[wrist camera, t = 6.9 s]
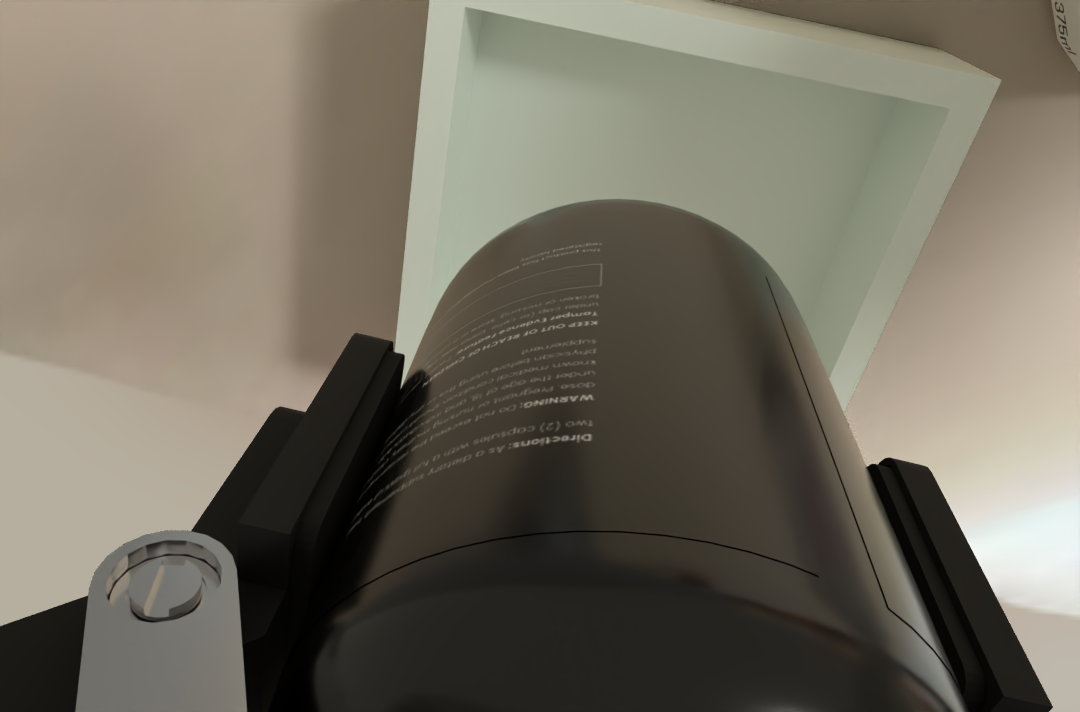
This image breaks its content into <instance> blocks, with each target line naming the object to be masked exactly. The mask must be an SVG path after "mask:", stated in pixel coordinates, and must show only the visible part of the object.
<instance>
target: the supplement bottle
mask: <svg viewBox="0 0 1080 712" xmlns="http://www.w3.org/2000/svg"><path fill="white" fill-rule="evenodd" d="M268 712H969V711H968V708H967V705H966V703H965V700H964V697H963V694H962V691H961V689H960V687H959V684H958V682H957V679H956V677H955V674H954V672H953V670H952V667H951V665H950V663H949V660H948V658H947V655H946V653H945V651H944V648H943V646H942V644H941V641H940V639H939V637H938V634H937V632H936V629H935V627H934V625H933V622H932V620H931V618H930V615H929V613H928V610H927V608H926V606H925V603H924V601H923V599H922V596H921V594H920V592H919V589H918V587H917V585H916V582H915V580H914V577H913V575H912V573H911V570H910V568H909V566H908V563H907V561H906V559H905V556H904V554H903V552H902V549H901V547H900V544H899V542H898V540H897V537H896V535H895V533H894V530H893V528H892V526H891V523H890V521H889V519H888V516H887V514H886V511H885V509H884V507H883V504H882V502H881V500H880V497H879V495H878V493H877V490H876V488H875V486H874V483H873V481H872V478H871V476H870V474H869V471H868V469H867V467H866V464H865V462H864V460H863V457H862V455H861V452H860V450H859V448H858V445H857V443H856V441H855V438H854V436H853V434H852V431H851V429H850V427H849V424H848V422H847V419H846V417H845V415H844V412H843V410H842V408H841V405H840V403H839V401H838V398H837V396H836V394H835V391H834V389H833V386H832V384H831V382H830V379H829V377H828V375H827V372H826V370H825V368H824V365H823V363H822V361H821V358H820V356H819V353H818V351H817V349H816V346H815V344H814V342H813V339H812V337H811V335H810V333H809V331H808V329H807V327H806V325H805V322H804V320H803V318H802V316H801V314H800V311H799V309H798V307H797V306H796V304H795V302H794V300H793V298H792V296H791V294H790V292H789V291H788V289H787V288H786V286H785V285H784V283H783V282H782V280H781V279H780V277H779V276H778V274H777V273H776V272H775V271H774V270H773V268H772V267H771V266H770V265H769V264H768V263H767V261H766V260H765V259H764V258H763V257H762V256H761V255H760V254H759V253H757V252H756V251H755V250H754V249H753V248H752V247H751V246H750V245H748V244H747V243H746V242H745V241H743V240H742V239H741V238H739V237H738V236H737V235H735V234H733V233H732V232H730V231H729V230H727V229H725V228H724V227H722V226H720V225H719V224H717V223H714V222H712V221H710V220H708V219H706V218H704V217H702V216H700V215H697V214H694V213H692V212H689V211H686V210H683V209H681V208H677V207H673V206H669V205H665V204H661V203H655V202H649V201H642V200H630V199H600V200H591V201H584V202H577V203H572V204H568V205H564V206H559V207H556V208H553V209H550V210H547V211H544V212H541V213H538V214H536V215H534V216H531V217H529V218H527V219H525V220H522V221H520V222H518V223H517V224H515V225H513V226H511V227H510V228H508V229H506V230H504V231H503V232H501V233H500V234H498V235H497V236H496V237H494V238H493V239H491V240H490V241H488V242H487V243H486V244H485V245H484V246H482V247H481V248H480V249H479V250H478V251H477V252H476V253H475V254H473V255H472V256H471V258H470V259H469V260H468V261H467V262H466V263H465V264H464V265H463V266H462V267H461V269H460V270H459V271H458V273H457V274H456V275H455V277H454V278H453V279H452V281H451V282H450V284H449V285H448V287H447V289H446V290H445V292H444V294H443V296H442V297H441V299H440V301H439V302H438V305H437V307H436V309H435V311H434V313H433V316H432V318H431V320H430V323H429V324H428V326H427V328H426V331H425V333H424V335H423V338H422V340H421V342H420V345H419V347H418V349H417V352H416V354H415V356H414V359H413V361H412V363H411V366H410V368H409V371H408V373H407V375H406V378H405V380H404V382H403V385H402V387H401V390H400V392H399V395H398V397H397V399H396V402H395V404H394V406H393V409H392V411H391V413H390V416H389V418H388V421H387V423H386V425H385V428H384V430H383V432H382V435H381V437H380V440H379V442H378V444H377V447H376V449H375V451H374V454H373V456H372V458H371V461H370V463H369V466H368V468H367V470H366V473H365V475H364V477H363V480H362V482H361V485H360V487H359V489H358V492H357V494H356V496H355V499H354V501H353V504H352V506H351V508H350V511H349V513H348V515H347V518H346V520H345V522H344V525H343V527H342V530H341V532H340V534H339V537H338V539H337V541H336V544H335V546H334V549H333V551H332V553H331V556H330V558H329V560H328V563H327V565H326V568H325V570H324V572H323V575H322V577H321V579H320V582H319V584H318V587H317V589H316V591H315V594H314V596H313V598H312V601H311V603H310V606H309V608H308V610H307V613H306V615H305V617H304V620H303V622H302V625H301V627H300V629H299V632H298V634H297V637H296V639H295V641H294V644H293V646H292V648H291V651H290V653H289V656H288V658H287V660H286V663H285V665H284V668H283V670H282V673H281V675H280V678H279V681H278V685H277V688H276V690H275V693H274V695H273V698H272V701H271V704H270V707H269V710H268Z"/></svg>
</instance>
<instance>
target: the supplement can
mask: <svg viewBox="0 0 1080 712" xmlns="http://www.w3.org/2000/svg"><path fill="white" fill-rule="evenodd" d="M1051 3H1052V9H1053V16H1054V22H1055V28H1056V34H1057V40H1058V41H1059V43H1060V44H1061V46H1062V47H1063V49H1064V50H1065V52H1066V53H1067V55H1068V56H1069V57H1070V59H1071V60H1072V62H1073V63H1074V65H1075V66H1076V68H1077V69H1078V71H1079V72H1080V0H1051Z"/></svg>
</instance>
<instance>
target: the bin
mask: <svg viewBox="0 0 1080 712" xmlns="http://www.w3.org/2000/svg"><path fill="white" fill-rule="evenodd" d="M1001 81H1002V80H1001V79H999V78H997V77H995V76H993V75H991V74H989V73H987V72H985V71H983V70H981V69H979V68H977V67H975V66H973V65H971V64H969V63H967V62H965V61H963V60H961V59H959V58H957V57H955V56H953V55H951V54H949V53H947V52H945V51H943V50H941V49H938V48H933V47H929V46H924V45H919V44H914V43H910V42H905V41H900V40H895V39H891V38H886V37H881V36H877V35H872V34H867V33H862V32H858V31H853V30H848V29H844V28H839V27H834V26H829V25H825V24H820V23H815V22H811V21H806V20H801V19H796V18H792V17H787V16H782V15H777V14H773V13H768V12H763V11H759V10H754V9H749V8H744V7H740V6H735V5H730V4H726V3H721V2H716V1H711V0H429V10H428V20H427V31H426V41H425V51H424V61H423V71H422V81H421V91H420V101H419V111H418V121H417V132H416V142H415V152H414V162H413V172H412V182H411V192H410V202H409V212H408V222H407V232H406V243H405V253H404V263H403V273H402V283H401V293H400V303H399V313H398V323H397V333H396V344H395V352H397V353H401V354H404V355H405V362H404V369H403V376H402V383H401V387H402V385H403V382H404V380H405V378H406V375H407V373H408V371H409V368H410V366H411V363H412V361H413V359H414V356H415V354H416V352H417V349H418V347H419V345H420V342H421V340H422V338H423V335H424V333H425V331H426V328H427V326H428V324H429V323H430V320H431V318H432V316H433V313H434V311H435V309H436V307H437V305H438V302H439V301H440V299H441V297H442V296H443V294H444V292H445V290H446V289H447V287H448V285H449V284H450V282H451V281H452V279H453V278H454V277H455V275H456V274H457V273H458V271H459V270H460V269H461V267H462V266H463V265H464V264H465V263H466V262H467V261H468V260H469V259H470V258H471V256H472V255H473V254H475V253H476V252H477V251H478V250H479V249H480V248H481V247H482V246H484V245H485V244H486V243H487V242H488V241H490V240H491V239H493V238H494V237H496V236H497V235H498V234H500V233H501V232H503V231H504V230H506V229H508V228H510V227H511V226H513V225H515V224H517V223H518V222H520V221H522V220H525V219H527V218H529V217H531V216H534V215H536V214H538V213H541V212H544V211H547V210H550V209H553V208H556V207H559V206H564V205H568V204H572V203H577V202H584V201H591V200H600V199H630V200H642V201H649V202H655V203H661V204H665V205H669V206H673V207H677V208H681V209H683V210H686V211H689V212H692V213H694V214H697V215H700V216H702V217H704V218H706V219H708V220H710V221H712V222H714V223H717V224H719V225H720V226H722V227H724V228H725V229H727V230H729V231H730V232H732V233H733V234H735V235H737V236H738V237H739V238H741V239H742V240H743V241H745V242H746V243H747V244H748V245H750V246H751V247H752V248H753V249H754V250H755V251H756V252H757V253H759V254H760V255H761V256H762V257H763V258H764V259H765V260H766V261H767V263H768V264H769V265H770V266H771V267H772V268H773V270H774V271H775V272H776V273H777V274H778V276H779V277H780V279H781V280H782V282H783V283H784V285H785V286H786V288H787V289H788V291H789V292H790V294H791V296H792V298H793V300H794V302H795V304H796V306H797V307H798V309H799V311H800V314H801V316H802V318H803V320H804V322H805V325H806V327H807V329H808V331H809V333H810V335H811V337H812V339H813V342H814V344H815V346H816V349H817V351H818V353H819V356H820V358H821V361H822V363H823V365H824V368H825V370H826V372H827V375H828V377H829V379H830V382H831V384H832V386H833V389H834V391H835V394H836V396H837V398H838V401H839V403H840V405H841V408H842V410H843V412H845V410H846V407H847V405H848V403H849V401H850V399H851V397H852V395H853V393H854V391H855V389H856V386H857V384H858V382H859V380H860V378H861V376H862V374H863V372H864V370H865V367H866V365H867V363H868V361H869V359H870V357H871V355H872V353H873V351H874V349H875V346H876V344H877V342H878V340H879V338H880V336H881V334H882V332H883V330H884V328H885V325H886V323H887V321H888V319H889V317H890V315H891V313H892V311H893V309H894V306H895V304H896V302H897V300H898V298H899V296H900V294H901V292H902V290H903V288H904V285H905V283H906V281H907V279H908V277H909V275H910V273H911V271H912V269H913V266H914V264H915V262H916V260H917V258H918V256H919V254H920V252H921V250H922V248H923V245H924V243H925V241H926V239H927V237H928V235H929V233H930V231H931V229H932V226H933V224H934V222H935V220H936V218H937V216H938V214H939V212H940V210H941V208H942V205H943V203H944V201H945V199H946V197H947V195H948V193H949V191H950V189H951V186H952V184H953V182H954V180H955V178H956V176H957V174H958V172H959V170H960V168H961V165H962V163H963V161H964V159H965V157H966V155H967V153H968V151H969V149H970V147H971V144H972V142H973V140H974V138H975V136H976V134H977V132H978V130H979V128H980V125H981V123H982V121H983V119H984V117H985V115H986V113H987V111H988V109H989V107H990V104H991V102H992V100H993V98H994V96H995V94H996V92H997V90H998V88H999V85H1000V83H1001Z"/></svg>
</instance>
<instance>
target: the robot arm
mask: <svg viewBox="0 0 1080 712" xmlns="http://www.w3.org/2000/svg"><path fill="white" fill-rule="evenodd" d="M404 362H405V355H404V354H401V353H397V352H393V342H392V341H388V340H384V339H380V338H375V337H371V336H367V335H362V334H358V333H355V334H354V335H353V336H352V338H351V339H350V341H349V343H348V344H347V346H346V347H345V349H344V351H343V352H342V354H341V356H340V357H339V359H338V360H337V362H336V364H335V365H334V367H333V369H332V370H331V372H330V373H329V375H328V377H327V378H326V380H325V382H324V383H323V385H322V387H321V388H320V390H319V391H318V393H317V395H316V396H315V398H314V400H313V401H312V403H311V404H310V406H309V408H308V409H307V411H306V412H302V411H297V410H293V409H289V408H284V407H278V408H276V409H275V410H274V411H273V412H272V413H271V414H270V416H269V417H268V419H267V420H266V422H265V423H264V425H263V426H262V427H261V429H260V430H259V432H258V433H257V435H256V436H255V438H254V439H253V441H252V442H251V444H250V445H249V447H248V448H247V450H246V451H245V453H244V454H243V456H242V457H241V458H240V460H239V461H238V463H237V464H236V466H235V467H234V469H233V470H232V472H231V473H230V475H229V476H228V478H227V479H226V481H225V482H224V483H223V485H222V486H221V488H220V490H219V491H218V492H217V494H216V495H215V497H214V498H213V500H212V501H211V503H210V504H209V506H208V507H207V508H206V510H205V511H204V513H203V514H202V516H201V517H200V519H199V520H198V522H197V523H196V525H195V526H194V528H193V529H192V531H162V532H157V533H153V534H147V535H144V536H141V537H139V538H137V539H134V540H132V541H130V542H127V543H125V544H123V545H122V546H121V547H119V548H118V549H116V550H115V551H114V552H112V553H111V554H110V555H108V556H107V557H106V558H105V560H104V561H103V562H102V563H101V564H100V566H99V567H98V568H97V570H96V571H95V572H94V576H93V578H92V581H91V584H90V587H89V594H88V596H86V597H83V598H80V599H77V600H74V601H71V602H69V603H65V604H63V605H60V606H57V607H54V608H51V609H48V610H46V611H43V612H40V613H37V614H35V615H31V616H28V617H25V618H23V619H20V620H17V621H14V622H11V623H8V624H6V625H3V626H0V712H268V710H269V707H270V704H271V701H272V698H273V695H274V693H275V690H276V688H277V685H278V681H279V678H280V675H281V673H282V670H283V668H284V665H285V663H286V660H287V658H288V656H289V653H290V651H291V648H292V646H293V644H294V641H295V639H296V637H297V634H298V632H299V629H300V627H301V625H302V622H303V620H304V617H305V615H306V613H307V610H308V608H309V606H310V603H311V601H312V598H313V596H314V594H315V591H316V589H317V587H318V584H319V582H320V579H321V577H322V575H323V572H324V570H325V568H326V565H327V563H328V560H329V558H330V556H331V553H332V551H333V549H334V546H335V544H336V541H337V539H338V537H339V534H340V532H341V530H342V527H343V525H344V522H345V520H346V518H347V515H348V513H349V511H350V508H351V506H352V504H353V501H354V499H355V496H356V494H357V492H358V489H359V487H360V485H361V482H362V480H363V477H364V475H365V473H366V470H367V468H368V466H369V463H370V461H371V458H372V456H373V454H374V451H375V449H376V447H377V444H378V442H379V440H380V437H381V435H382V432H383V430H384V428H385V425H386V423H387V421H388V418H389V416H390V413H391V411H392V409H393V406H394V404H395V402H396V399H397V397H398V395H399V392H400V390H401V383H402V376H403V369H404ZM867 469H868V471H869V474H870V476H871V478H872V481H873V483H874V486H875V488H876V490H877V493H878V495H879V497H880V500H881V502H882V504H883V507H884V509H885V511H886V514H887V516H888V519H889V521H890V523H891V526H892V528H893V530H894V533H895V535H896V537H897V540H898V542H899V544H900V547H901V549H902V552H903V554H904V556H905V559H906V561H907V563H908V566H909V568H910V570H911V573H912V575H913V577H914V580H915V582H916V585H917V587H918V589H919V592H920V594H921V596H922V599H923V601H924V603H925V606H926V608H927V610H928V613H929V615H930V618H931V620H932V622H933V625H934V627H935V629H936V632H937V634H938V637H939V639H940V641H941V644H942V646H943V648H944V651H945V653H946V655H947V658H948V660H949V663H950V665H951V667H952V670H953V672H954V674H955V677H956V679H957V682H958V684H959V687H960V689H961V691H962V694H963V697H964V700H965V703H966V705H967V708H968V711H969V712H1049V711H1050V710H1051V709H1052V708H1053V706H1052V704H1051V702H1050V700H1049V699H1048V697H1047V695H1046V693H1045V691H1044V689H1043V687H1042V685H1041V683H1040V681H1039V679H1038V677H1037V675H1036V673H1035V671H1034V670H1033V668H1032V666H1031V664H1030V662H1029V660H1028V658H1027V656H1026V654H1025V652H1024V650H1023V648H1022V646H1021V644H1020V642H1019V641H1018V639H1017V637H1016V635H1015V633H1014V631H1013V629H1012V627H1011V625H1010V623H1009V621H1008V619H1007V617H1006V615H1005V613H1004V611H1003V610H1002V608H1001V606H1000V604H999V602H998V600H997V598H996V596H995V594H994V592H993V590H992V588H991V586H990V584H989V582H988V580H987V578H986V577H985V575H984V573H983V571H982V569H981V567H980V565H979V563H978V561H977V559H976V557H975V555H974V553H973V551H972V549H971V548H970V546H969V544H968V542H967V540H966V538H965V536H964V534H963V532H962V530H961V528H960V526H959V524H958V522H957V520H956V518H955V517H954V515H953V513H952V511H951V509H950V507H949V505H948V503H947V501H946V499H945V497H944V495H943V493H942V491H941V489H940V487H939V486H938V484H937V482H936V480H935V478H934V476H933V474H932V472H931V471H930V470H929V468H928V467H925V466H923V465H919V464H914V463H910V462H906V461H902V460H897V459H893V458H885V459H883V460H882V461H881V462H880V463H879V464H878V465H876V464H871V465H869V466H868V467H867Z"/></svg>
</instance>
